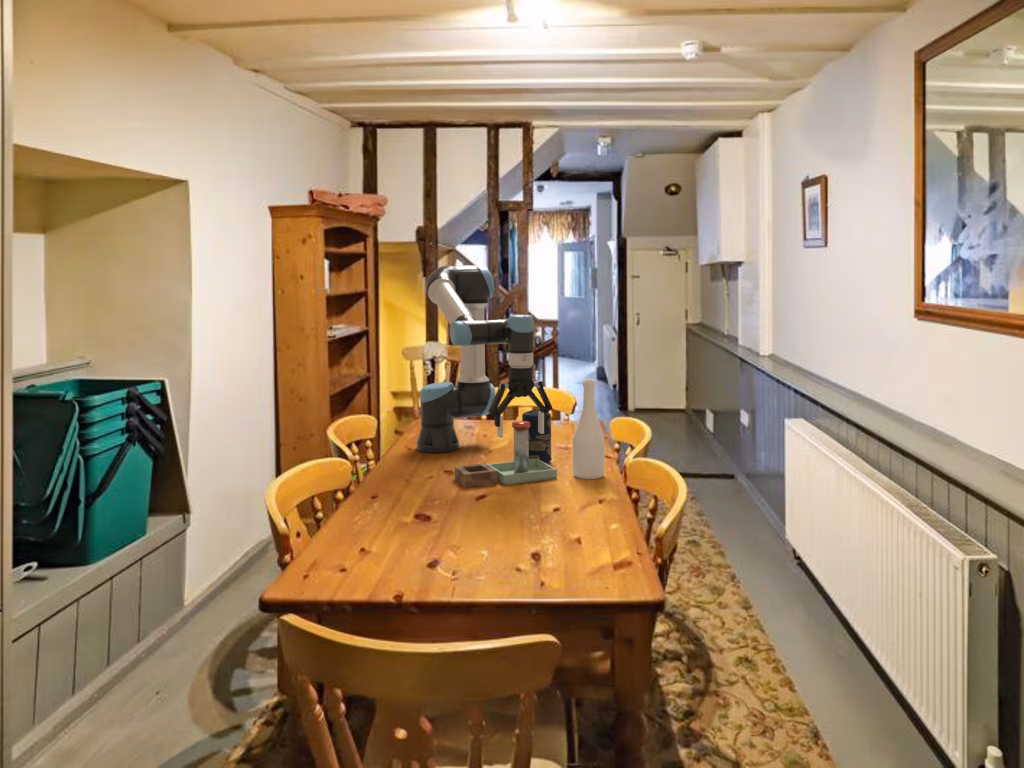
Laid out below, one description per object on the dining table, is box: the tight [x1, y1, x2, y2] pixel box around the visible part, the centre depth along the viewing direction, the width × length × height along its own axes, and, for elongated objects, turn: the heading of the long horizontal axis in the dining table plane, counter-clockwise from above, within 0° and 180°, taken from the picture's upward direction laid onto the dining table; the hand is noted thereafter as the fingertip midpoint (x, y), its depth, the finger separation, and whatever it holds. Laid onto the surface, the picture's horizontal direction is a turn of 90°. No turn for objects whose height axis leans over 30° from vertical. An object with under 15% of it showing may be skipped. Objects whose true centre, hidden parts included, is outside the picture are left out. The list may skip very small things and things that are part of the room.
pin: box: [511, 420, 530, 474], centre depth 228 cm, size 6×6×16 cm
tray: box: [486, 459, 558, 486], centre depth 229 cm, size 14×17×3 cm
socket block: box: [454, 462, 498, 489], centre depth 224 cm, size 10×10×4 cm
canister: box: [521, 408, 552, 464], centre depth 244 cm, size 10×10×18 cm
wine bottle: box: [572, 378, 605, 480], centre depth 227 cm, size 10×10×30 cm
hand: (520, 435), depth 228 cm, fingers open, 13 cm apart
